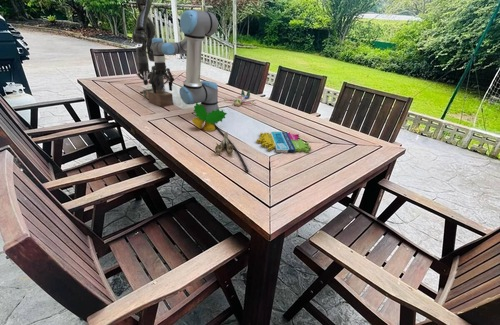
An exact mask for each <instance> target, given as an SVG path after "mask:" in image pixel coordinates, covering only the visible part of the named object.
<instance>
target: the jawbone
mask: <svg viewBox="0 0 500 325" xmlns="http://www.w3.org/2000/svg"><path fill="white" fill-rule="evenodd" d="M223 134H224V136H223V140H222V139H221V142H220V144H218V142H215V144H216V146H215V148H214V149H215V152H214V154H215V155H217V156H218V155H220V153H221V152H223V151H224V150H226V152H227V153H228V155H229V156H233V155H234V154H233V153H234V147H233V146H232V145H234V143H232V145H231V144H230V142H229V141H228V139H229V138H228V137H229V136H228V135H229V133H228V131H226V132H223Z"/></svg>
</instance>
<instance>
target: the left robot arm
mask: <svg viewBox="0 0 500 325" xmlns="http://www.w3.org/2000/svg"><path fill="white" fill-rule="evenodd" d="M135 3H136V6H137V11H138V13H139V14H138V15H137V18H136V22H135V28H134V29H133V32H132V35H131V39H132V42H133V43H134V44H139V45H140V44H141V46H138V47H136V58H137V60H136V61H137V66H138V72H136V73H135V74H136V76H137V77H138V78H139V79H140V80H142V82H143V85H145V86H148V85H149V79H150V76H151V71H150V66H149V61H150V62H153V63H155V61H154V55H153V48H152V39H153V38H156V28H155V24H154V22H153V21H152V19H151V18H150V17H149V15H150V11H151V8H152V4H153V0H135ZM151 70H155V65H152V66H151ZM148 73H149V74H148ZM155 74H156V72H155ZM157 75H158V74H157ZM154 77H155V75H154ZM168 82H169V80H168V79H167V78H166V81H165V78H163V75H162V76H159V77H158V78H157V80H156V82H155V85H156V90H159V89H160V90H163V91H166V90H165V89H166V86H165V84H167V83H168Z"/></svg>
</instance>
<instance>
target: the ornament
mask: <svg viewBox="0 0 500 325" xmlns="http://www.w3.org/2000/svg"><path fill="white" fill-rule="evenodd" d="M219 110H220V108H219V109H217V110H216V111H214V110H212V112H211V113H208V112H206V109H204V106H201V103H197V102H196V103H195V105H194V106H193V112H194V113H195V118H192V119H191V122H192V123H193V125H195V127H197V128H198V129H202V130H203V131H206V132H212V131H213V132H214V131H215V130H216V127H215V126H214V124H213V123H215V124H218V123H219V122H223V119H226V115H227V114H228V113H227V112H224V110H223V109H221V110H220V111H219ZM207 113H208V115H207Z"/></svg>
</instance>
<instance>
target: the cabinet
mask: <svg viewBox="0 0 500 325" xmlns="http://www.w3.org/2000/svg"><path fill="white" fill-rule="evenodd" d="M156 93H157V94H155V93H154V92H153V91H148V94H149V99H148V101H149V103H151V104H154V105H156V106H158V107H161V108H163V107H167V106H172V105H174V98H173V93H172V92H170V91H169V92H168V91H166V90H160V89H159V90H156Z"/></svg>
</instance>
